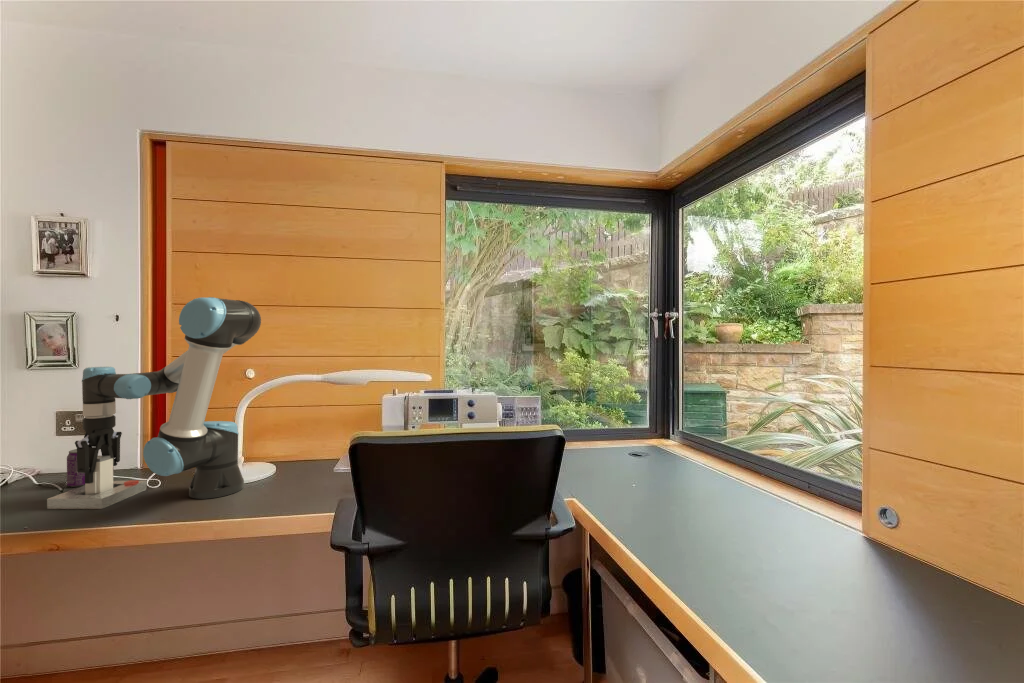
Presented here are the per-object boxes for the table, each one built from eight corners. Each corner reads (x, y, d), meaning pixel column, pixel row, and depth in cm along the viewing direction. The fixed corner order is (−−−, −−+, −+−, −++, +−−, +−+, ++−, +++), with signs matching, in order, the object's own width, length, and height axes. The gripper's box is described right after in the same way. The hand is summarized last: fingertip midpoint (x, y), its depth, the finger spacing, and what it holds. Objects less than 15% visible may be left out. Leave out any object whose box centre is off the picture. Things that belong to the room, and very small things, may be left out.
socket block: (146, 489, 145) (146, 478, 145) (102, 508, 129) (102, 496, 129) (97, 489, 145) (97, 478, 145) (47, 508, 129) (47, 496, 129)
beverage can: (101, 481, 153) (101, 447, 153) (82, 488, 146) (82, 452, 146) (80, 481, 153) (80, 447, 153) (60, 488, 146) (60, 452, 146)
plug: (113, 489, 139) (113, 455, 139) (100, 494, 135) (99, 459, 135) (98, 489, 139) (98, 455, 139) (85, 494, 135) (85, 459, 134)
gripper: (112, 411, 145) (112, 480, 146) (58, 421, 128) (59, 500, 128) (135, 411, 145) (135, 480, 146) (84, 421, 128) (84, 500, 128)
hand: (99, 489), depth 137 cm, fingers closed on plug, 4 cm apart
